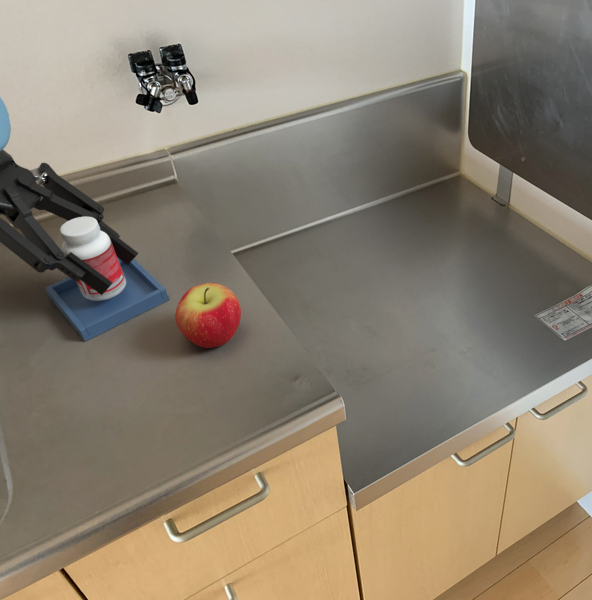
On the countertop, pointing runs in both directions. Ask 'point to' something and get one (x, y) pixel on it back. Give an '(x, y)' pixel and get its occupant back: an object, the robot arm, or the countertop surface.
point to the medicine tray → (108, 301)
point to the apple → (208, 315)
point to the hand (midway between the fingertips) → (120, 273)
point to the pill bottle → (93, 255)
